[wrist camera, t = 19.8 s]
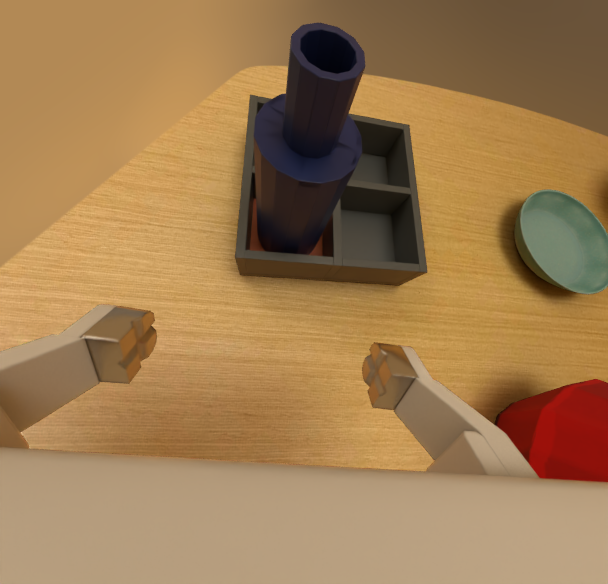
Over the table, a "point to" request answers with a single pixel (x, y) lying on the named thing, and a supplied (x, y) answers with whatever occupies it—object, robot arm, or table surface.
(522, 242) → the saucer
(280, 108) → the navy bottle
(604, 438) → the bottle
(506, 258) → the table surface
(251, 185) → the tray
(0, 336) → the table surface
